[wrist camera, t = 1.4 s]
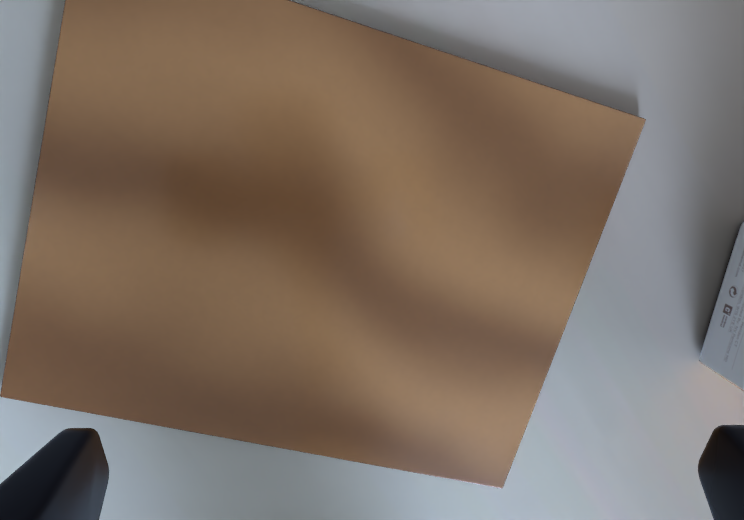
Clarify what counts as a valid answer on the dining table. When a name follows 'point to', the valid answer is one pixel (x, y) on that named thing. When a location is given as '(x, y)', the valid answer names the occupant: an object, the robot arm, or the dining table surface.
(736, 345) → the small box
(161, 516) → the dining table surface
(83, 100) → the glossy brown placemat
